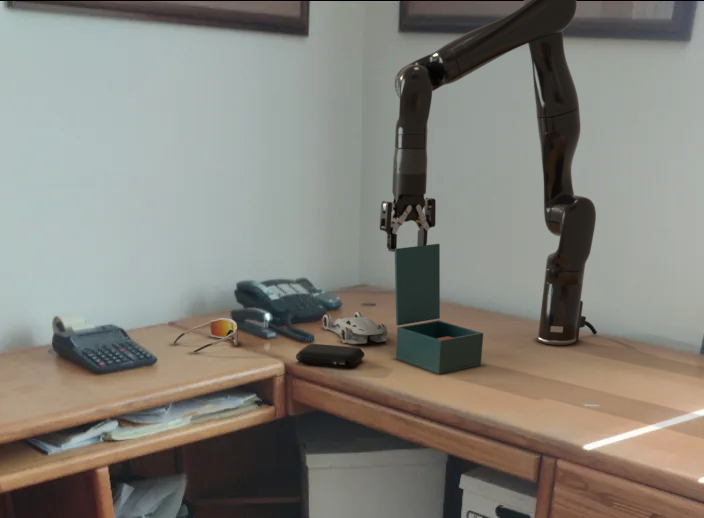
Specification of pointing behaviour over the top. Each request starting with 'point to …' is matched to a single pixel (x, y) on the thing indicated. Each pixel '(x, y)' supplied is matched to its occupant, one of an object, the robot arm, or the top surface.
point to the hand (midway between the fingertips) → (407, 249)
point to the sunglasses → (216, 331)
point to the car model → (356, 329)
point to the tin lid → (417, 283)
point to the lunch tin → (439, 346)
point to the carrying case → (330, 355)
